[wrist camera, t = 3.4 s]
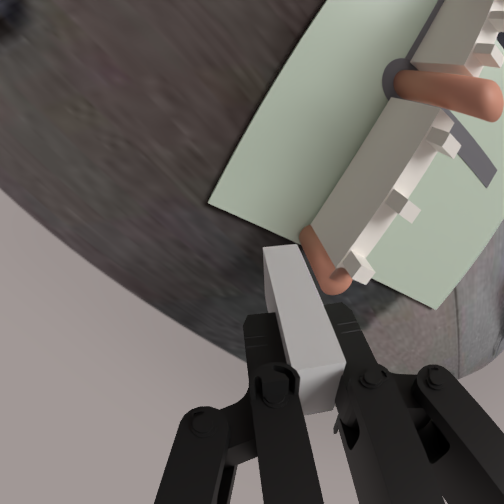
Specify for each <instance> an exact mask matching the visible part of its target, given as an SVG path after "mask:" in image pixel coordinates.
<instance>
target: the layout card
mask: <svg viewBox="0 0 504 504" xmlns="http://www.w3.org/2000/svg"><path fill="white" fill-rule="evenodd" d="M444 1H445V0H326V1H325V2H324V4H323V5H322V7H321V8H320V10H319V11H318V13H317V14H316V16H315V17H314V19H313V20H312V22H311V23H310V25H309V26H308V28H307V29H306V31H305V32H304V34H303V36H302V37H301V39H300V40H299V42H298V43H297V45H296V46H295V48H294V50H293V51H292V53H291V54H290V56H289V58H288V59H287V61H286V62H285V64H284V66H283V67H282V69H281V71H280V72H279V74H278V75H277V77H276V79H275V80H274V82H273V84H272V85H271V87H270V89H269V90H268V92H267V94H266V96H265V97H264V99H263V101H262V102H261V104H260V106H259V108H258V109H257V111H256V113H255V115H254V116H253V118H252V120H251V122H250V123H249V125H248V127H247V129H246V130H245V132H244V134H243V136H242V138H241V139H240V141H239V143H238V145H237V147H236V149H235V150H234V152H233V154H232V156H231V158H230V160H229V161H228V163H227V165H226V167H225V169H224V171H223V173H222V175H221V177H220V178H219V180H218V182H217V184H216V186H215V188H214V190H213V192H212V194H211V196H210V198H209V200H208V204H211V205H213V206H215V207H218V208H220V209H222V210H224V211H227V212H229V213H231V214H234V215H236V216H238V217H240V218H243V219H245V220H247V221H249V222H252V223H254V224H256V225H258V226H260V227H263V228H265V229H267V230H269V231H271V232H274V233H276V234H278V235H280V236H282V237H285V238H287V239H289V240H291V241H293V242H296V243H298V244H300V245H301V243H300V241H299V235H300V232H301V231H302V229H303V228H304V227H306V226H308V225H310V224H311V223H312V221H313V220H314V218H315V217H316V215H317V214H318V212H319V211H320V209H321V208H322V206H323V205H324V203H325V202H326V200H327V199H328V197H329V195H330V194H331V192H332V191H333V189H334V188H335V186H336V185H337V183H338V182H339V180H340V178H341V177H342V175H343V174H344V172H345V171H346V169H347V167H348V166H349V164H350V163H351V161H352V160H353V158H354V156H355V155H356V153H357V152H358V150H359V148H360V147H361V145H362V144H363V142H364V140H365V139H366V137H367V136H368V134H369V132H370V131H371V129H372V128H373V126H374V124H375V123H376V121H377V119H378V118H379V116H380V115H381V113H382V111H383V110H384V108H385V106H386V105H387V103H388V101H389V100H390V98H391V97H393V98H398V99H403V98H401V97H400V96H399V95H398V94H397V93H396V91H395V89H394V85H393V81H394V77H395V75H396V74H397V73H398V72H399V71H401V70H415V71H419V70H418V69H417V68H415V67H414V66H413V65H412V64H411V63H410V61H411V59H412V58H413V56H414V54H415V52H416V51H417V49H418V47H419V45H420V44H421V42H422V40H423V38H424V37H425V35H426V33H427V31H428V30H429V28H430V26H431V24H432V22H433V21H434V19H435V17H436V15H437V13H438V12H439V10H440V8H441V6H442V4H443V3H444ZM494 44H495V45H496V46H497V47H498V49H499V50H500V52H501V53H502V54H503V56H504V49H503V48H502V47H501V45H500V44H499V42H498V41H497V40H495V43H494ZM478 78H484V79H489V80H493V81H495V82H496V83H497V84H498V86H499V87H500V89H501V91H502V94H503V100H504V62H503V64H502V67H501V68H495V67H489V66H484V67H483V69H482V71H481V73H480V75H479V77H478ZM403 100H406V99H403ZM408 101H411V100H408ZM413 102H415V101H413ZM417 103H420V102H417ZM422 104H424V103H422ZM426 105H429V104H426ZM430 106H433V105H430ZM434 107H437V106H434ZM438 108H441V107H438ZM441 109H442V110H443V111H444V112H445V113H446V114H447V115H448V116H449V117H450V118H451V120H452V121H453V122H454V125H453V127H452V128H451V130H450V132H449V133H451V135H452V136H453V137H454V138H455V139H456V140H457V141H458V142H459V143H460V145H461V148H460V149H459V151H458V153H457V154H456V156H455V158H454V159H452V158H450V157H448V156H446V155H444V154H442V153H440V152H437V154H436V155H435V157H434V159H433V160H432V162H431V164H430V165H429V167H428V168H427V170H426V172H425V173H424V175H423V176H422V178H421V180H420V181H419V183H418V184H417V186H416V187H415V189H414V190H413V192H412V193H411V195H410V196H409V198H408V200H409V201H411V202H412V203H413V204H414V205H416V206H417V207H418V208H419V209H421V211H420V213H419V214H418V216H417V217H416V219H415V220H414V221H413V223H412V224H411V223H410V222H409V221H407V220H406V219H405V218H403V217H402V216H400V215H399V214H397V216H396V217H395V218H394V220H393V221H392V223H391V224H390V226H389V227H388V228H387V230H386V231H385V233H384V234H383V235H382V237H381V238H380V240H379V241H378V242H377V244H376V245H375V246H374V248H373V249H372V250H371V252H370V253H369V255H368V256H367V257H366V260H367V261H368V263H369V264H370V265H371V267H372V268H373V270H374V271H375V272H376V273H375V274H374V275H373V277H372V279H374V280H376V281H378V282H380V283H382V284H384V285H387V286H389V287H391V288H393V289H395V290H397V291H399V292H401V293H403V294H405V295H407V296H409V297H411V298H413V299H415V300H417V301H419V302H421V303H423V304H425V305H427V306H429V307H431V308H433V309H435V310H436V309H437V308H438V307H439V306H440V305H441V304H442V302H443V301H444V300H445V299H446V298H447V296H448V295H449V294H450V293H451V291H452V290H453V289H454V288H455V287H456V285H457V284H458V283H459V281H460V280H461V279H462V278H463V276H464V275H465V274H466V272H467V271H468V270H469V268H470V267H471V266H472V264H473V263H474V262H475V260H476V259H477V257H478V256H479V255H480V253H481V252H482V250H483V249H484V248H485V246H486V245H487V243H488V242H489V240H490V239H491V237H492V236H493V234H494V233H495V231H496V230H497V228H498V227H499V225H500V223H501V222H502V220H503V219H504V107H503V112H502V115H501V116H500V118H499V119H498V120H497V121H496V122H488V121H485V120H482V119H479V118H476V117H473V116H469V115H466V114H463V113H459V112H456V111H452V110H448V109H445V108H441Z"/></svg>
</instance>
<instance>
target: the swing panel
mask: <svg viewBox="0 0 504 504" xmlns="http://www.w3.org/2000/svg"><path fill="white" fill-rule="evenodd" d="M453 125H454V122H453V121H452V120H451V118H450V117H449V116H448V115H447V114H446V113H445V112H444V111H443V110H442V109H441V108H438V107H434V106H430V105H426V104H422V103H417V102H413V101H408V100H403V99H398V98H393V97H391V98H390V100H389V101H388V103H387V105H386V106H385V108H384V110H383V111H382V113H381V115H380V116H379V118H378V119H377V121H376V123H375V124H374V126H373V128H372V129H371V131H370V132H369V134H368V136H367V137H366V139H365V140H364V142H363V144H362V145H361V147H360V148H359V150H358V152H357V153H356V155H355V156H354V158H353V160H352V161H351V163H350V164H349V166H348V167H347V169H346V171H345V172H344V174H343V175H342V177H341V178H340V180H339V182H338V183H337V185H336V186H335V188H334V189H333V191H332V192H331V194H330V195H329V197H328V199H327V200H326V202H325V203H324V205H323V206H322V208H321V209H320V211H319V212H318V214H317V215H316V217H315V218H314V220H313V221H312V223H311V224H310V225H308V226H306V227H304V228H303V229H302V231H301V232H300V235H299V241H300V243H301V245H302V248H303V250H304V252H305V254H306V256H307V258H308V260H309V263H310V265H311V267H312V269H313V271H314V274H315V276H316V278H317V280H318V282H319V285H320V287H321V289H322V291H323V292H324V293H326V294H328V295H337V294H340V293H342V292H344V291H345V290H346V289H347V288H348V287H349V286H350V284H351V282H352V279H354V280H356V281H358V282H360V283H362V284H365V285H366V284H367V283H368V282H369V280H370V279H371V278H372V277H373V275H374V274H375V273H376V272H375V271H374V270H373V268H372V267H371V265H370V264H369V263H368V261H367V260H366V257H367V256H368V255H369V253H370V252H371V250H372V249H373V248H374V246H375V245H376V244H377V242H378V241H379V240H380V238H381V237H382V235H383V234H384V233H385V231H386V230H387V228H388V227H389V226H390V224H391V223H392V221H393V220H394V218H395V217H396V216H397V214H399V215H400V216H402V217H403V218H405V219H406V220H407V221H409V222H410V223H411V224H412V223H413V221H414V220H415V219H416V217H417V216H418V214H419V213H420V211H421V209H419V208H418V207H417V206H416V205H414V204H413V203H412V202H411V201H409V200H408V198H409V196H410V195H411V193H412V192H413V190H414V189H415V187H416V186H417V184H418V183H419V181H420V180H421V178H422V176H423V175H424V173H425V172H426V170H427V168H428V167H429V165H430V164H431V162H432V160H433V159H434V157H435V155H436V154H437V152H440V153H442V154H444V155H446V156H448V157H450V158H452V159H454V158H455V156H456V154H457V153H458V151H459V149H460V148H461V145H460V143H459V142H458V141H457V140H456V139H455V138H454V137H453V136H452V135H451V133H449V132H450V130H451V128H452V127H453Z"/></svg>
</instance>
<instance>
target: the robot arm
mask: <svg viewBox="0 0 504 504" xmlns="http://www.w3.org/2000/svg"><path fill="white" fill-rule="evenodd" d="M263 262H264V283H265V299H266V304H267V309H268V313H263V314H254V315H248V316H247V318H246V320H245V323H244V325H243V330H244V340H245V349H246V358H247V368H248V376H249V388H248V390H247V393H246V394H245V396H244V397H243V398H242V399H241V400H240V401H238V402H237V403H235V404H233V405H231V406H228V407H226V408H223V409H220V410H218V409H216V408H213V407H209V406H206V407H197V408H194V409H192V410H190V411H189V412H188V413H186V414H185V415H184V417H183V418H182V420H181V422H180V424H179V428H178V431H177V434H176V437H175V440H174V443H173V446H172V449H171V452H170V455H169V458H168V461H167V464H166V467H165V470H164V474H163V477H162V480H161V483H160V486H159V489H158V492H157V495H156V499H155V502H154V504H230V499H231V494H232V490H233V485H234V480H235V475H236V470H237V465H238V464H240V463H243V462H245V461H248V460H250V459H253V458H255V457H258V462H259V470H260V478H261V485H262V493H263V500H264V504H324V502H323V498H322V493H321V488H320V484H319V480H318V475H317V471H316V466H315V462H314V458H313V453H312V449H311V445H310V440H309V436H308V432H307V427H306V423H305V419H304V415H309V414H315V413H320V412H325V411H331V410H333V408H334V405H335V404H336V407H337V410H338V413H339V414H338V417H337V420H336V423H335V426H334V434H336V433H337V431H338V429H339V432H340V436H341V439H342V443H343V446H344V450H345V453H346V457H347V461H348V464H349V468H350V471H351V475H352V479H353V482H354V486H355V489H356V493H357V497H358V501H359V504H445V502H444V500H443V497H444V499H445V500H446V501H447V503H448V504H504V433H503V432H502V431H501V430H500V428H499V427H498V426H497V425H496V424H495V423H494V421H493V420H492V419H491V418H490V417H489V415H488V414H487V413H486V412H485V411H484V410H483V409H482V407H481V406H480V405H479V404H478V403H477V402H476V401H475V399H474V398H473V397H472V396H471V395H470V394H469V393H468V392H467V391H466V389H465V388H464V387H463V386H462V385H461V384H460V383H459V382H458V380H457V379H456V378H455V377H454V376H453V375H452V374H451V373H450V372H449V371H448V370H447V369H445V368H444V367H442V366H439V365H427V366H425V367H423V368H422V369H421V370H420V371H419V372H418V374H417V375H408V374H394V373H391V372H389V371H388V369H387V368H385V367H383V366H382V365H380V364H378V363H377V361H376V360H375V358H374V355H373V353H372V351H371V349H370V347H369V345H368V343H367V341H366V339H365V337H364V335H363V333H362V331H361V328H360V326H359V324H358V323H357V320H356V318H355V316H354V314H353V312H352V310H350V309H349V308H348V307H347V306H346V305H344V304H343V303H342V302H341V303H334V304H327V305H323V303H322V301H321V298H320V296H319V294H318V291H317V289H316V286H315V284H314V282H313V279H312V277H311V275H310V272H309V270H308V268H307V266H306V263H305V261H304V259H303V256H302V254H301V252H300V250H299V247H298V245H297V244H291V245H281V246H271V247H263ZM442 496H443V497H442Z"/></svg>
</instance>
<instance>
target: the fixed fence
mask: <svg viewBox="0 0 504 504" xmlns="http://www.w3.org/2000/svg"><path fill="white" fill-rule="evenodd" d="M499 32H504V0H445V1H444V3H443V4H442V6H441V8H440V10H439V12H438V13H437V15H436V17H435V19H434V21H433V22H432V24H431V26H430V28H429V30H428V31H427V33H426V35H425V37H424V38H423V40H422V42H421V44H420V45H419V47H418V49H417V51H416V52H415V54H414V56H413V58H412V59H411V61H410V63H411V64H412V65H413V66H414V67H415V68H417V69H418V70H419V71H415V70H401V71H399V72H398V73H397V74H396V75H395V77H394V81H393V85H394V89H395V91H396V93H397V94H398V95H399V96H400V97H401V98H403V99H406V100H411V101H415V102H420V103H424V104H429V105H433V106H437V107H441V108H445V109H448V110H452V111H456V112H459V113H463V114H466V115H469V116H473V117H476V118H479V119H482V120H485V121H488V122H496V121H497V120H498V119H499V118H500V116H501V115H502V112H503V107H504V100H503V94H502V91H501V89H500V87H499V86H498V84H497V83H496V82H495V81H493V80H489V79H484V78H478V77H479V75H480V73H481V71H482V69H483V67H484V66H489V67H495V68H501V67H502V64H503V62H504V56H503V54H502V53H501V52H500V50H499V49H498V47H497V46H496V45H495V44H494V43H495V40H496V38H497V36H498V33H499Z"/></svg>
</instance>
